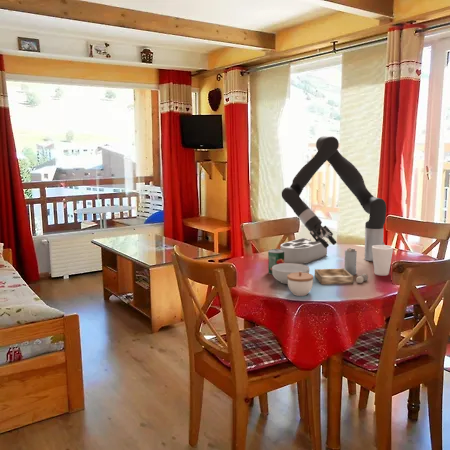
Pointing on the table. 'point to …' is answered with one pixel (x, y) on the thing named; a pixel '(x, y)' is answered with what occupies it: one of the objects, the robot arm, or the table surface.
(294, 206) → the robot arm
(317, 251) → the ice cube tray
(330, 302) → the table surface
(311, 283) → the lidded jar
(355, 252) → the pebble jar
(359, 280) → the pebble
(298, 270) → the cereal bowl
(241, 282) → the table surface
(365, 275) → the pebble
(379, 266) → the foam cup
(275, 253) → the canned tomato
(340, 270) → the birch tray
